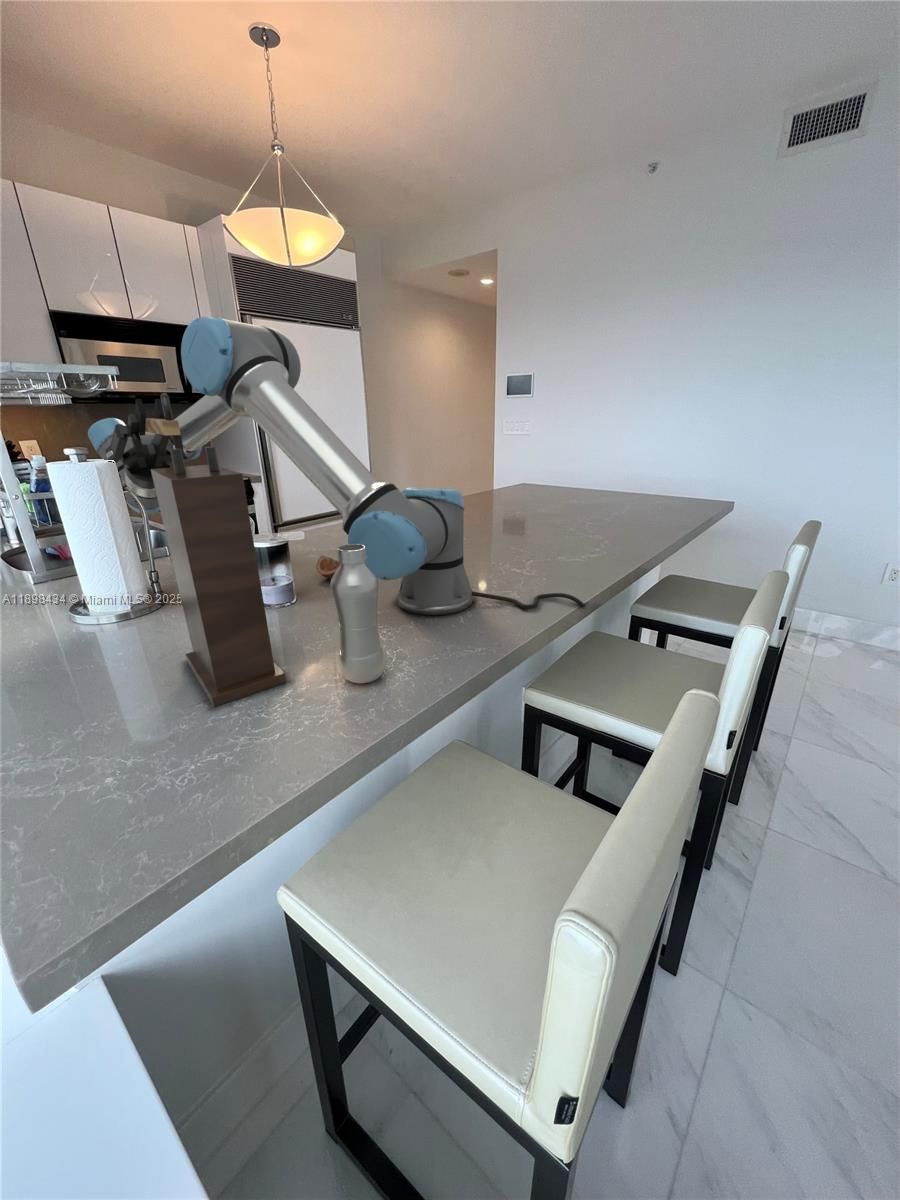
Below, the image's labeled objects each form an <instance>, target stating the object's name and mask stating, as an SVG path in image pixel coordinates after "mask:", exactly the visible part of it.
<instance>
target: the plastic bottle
mask: <svg viewBox="0 0 900 1200" xmlns="http://www.w3.org/2000/svg"><path fill="white" fill-rule="evenodd" d="M336 552H337V558H336V560H337V561H338V562H339V563H340V566H339V567H338V569H337V570H336V572H335V573H334V575H333V577H332V579H330V584H329V589H330V593H331V597H332V600H333V604H334V607H335V611H336V616H337V622H338V628H339V654H338V667H339V669H340V672H341V673H340V674H341V675H342V676H343V677H344V678H345V679H346V680H347V681H348V682H350V683H355V684H366V683H371V682H374V681H376V680H378V679H379V678H380V677H381V676H382V674H383V673H384V671H385V665H386V658H385V654H384V651H383V647H382V644H381V639H380V633H379V626H378V599H379V597H378V595H379V582H378V578H376V576H375V575H374V574H373V572H372V571H371V570H370V568H369V567H368V566H367V565H366V564H365V561H366V560H367V556H366V551H365V546H364V545H360V544H348V543H347V544H342V545H339V546H338V547H337V550H336Z"/></svg>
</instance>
